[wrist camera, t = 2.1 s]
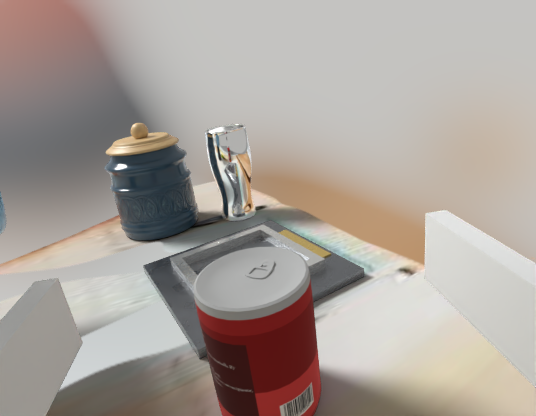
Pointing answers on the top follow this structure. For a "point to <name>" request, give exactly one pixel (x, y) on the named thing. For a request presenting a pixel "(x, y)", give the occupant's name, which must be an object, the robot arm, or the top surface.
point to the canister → (151, 185)
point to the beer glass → (231, 169)
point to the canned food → (260, 332)
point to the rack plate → (263, 235)
